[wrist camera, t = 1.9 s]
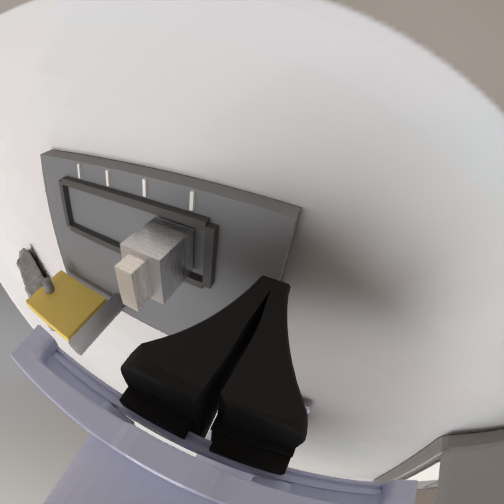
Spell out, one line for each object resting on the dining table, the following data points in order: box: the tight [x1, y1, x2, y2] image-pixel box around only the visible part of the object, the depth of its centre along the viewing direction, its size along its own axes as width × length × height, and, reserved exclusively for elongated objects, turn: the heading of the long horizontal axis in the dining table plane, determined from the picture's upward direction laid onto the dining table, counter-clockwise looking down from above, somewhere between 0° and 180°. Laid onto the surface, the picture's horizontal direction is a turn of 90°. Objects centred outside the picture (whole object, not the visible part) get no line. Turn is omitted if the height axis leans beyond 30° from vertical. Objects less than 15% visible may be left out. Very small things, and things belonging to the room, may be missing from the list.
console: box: [40, 150, 301, 355], centre depth 16 cm, size 13×20×7 cm, turn 81°
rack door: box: [26, 270, 107, 342], centre depth 19 cm, size 2×7×5 cm, turn 81°
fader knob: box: [114, 217, 194, 312], centre depth 13 cm, size 3×2×4 cm
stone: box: [17, 249, 55, 331], centre depth 28 cm, size 6×12×4 cm, turn 33°
